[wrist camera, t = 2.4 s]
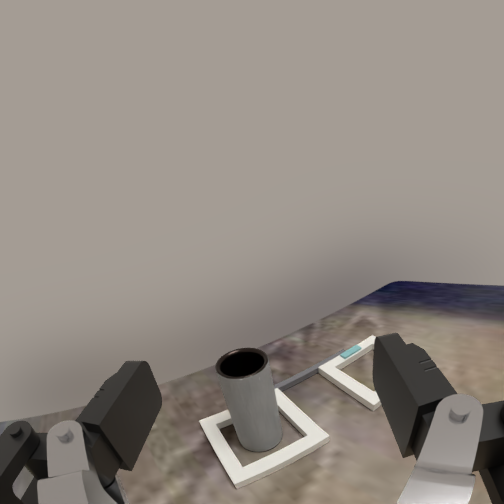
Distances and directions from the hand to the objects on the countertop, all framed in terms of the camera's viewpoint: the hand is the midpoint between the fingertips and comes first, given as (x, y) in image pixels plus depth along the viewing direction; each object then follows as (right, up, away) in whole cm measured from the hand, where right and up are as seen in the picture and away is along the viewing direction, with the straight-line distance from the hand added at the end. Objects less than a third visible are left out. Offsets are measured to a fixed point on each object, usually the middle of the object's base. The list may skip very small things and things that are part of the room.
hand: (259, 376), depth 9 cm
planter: (+1, -15, +16) cm, 22 cm away
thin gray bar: (+5, -12, +24) cm, 27 cm away
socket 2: (+15, -11, +22) cm, 29 cm away
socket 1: (+1, -15, +16) cm, 22 cm away
